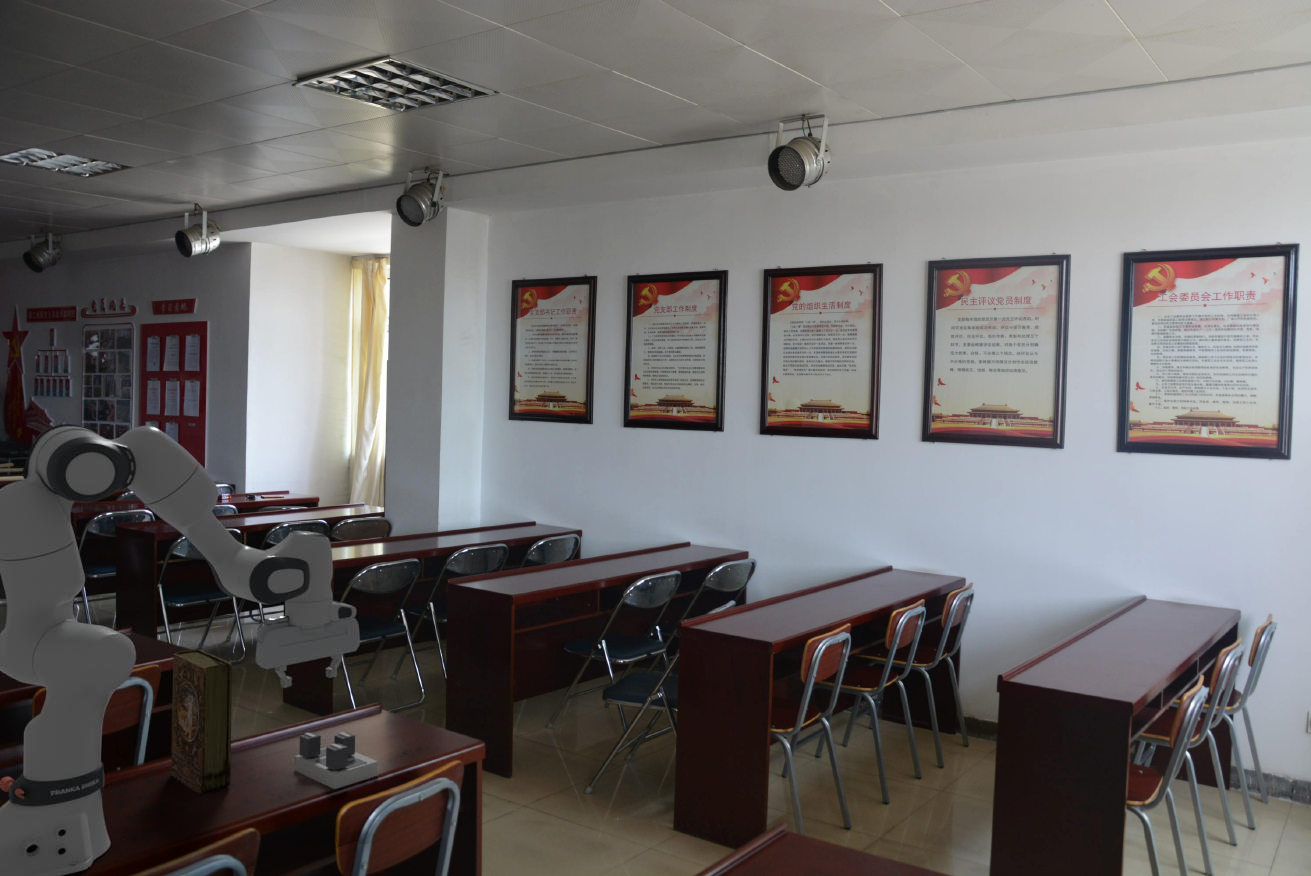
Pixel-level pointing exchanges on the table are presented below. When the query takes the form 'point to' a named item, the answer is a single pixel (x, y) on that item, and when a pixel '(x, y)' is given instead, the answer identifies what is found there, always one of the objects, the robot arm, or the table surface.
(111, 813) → the table surface
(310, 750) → the tab
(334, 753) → the tab
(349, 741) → the tab middle
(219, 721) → the book
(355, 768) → the switch panel
